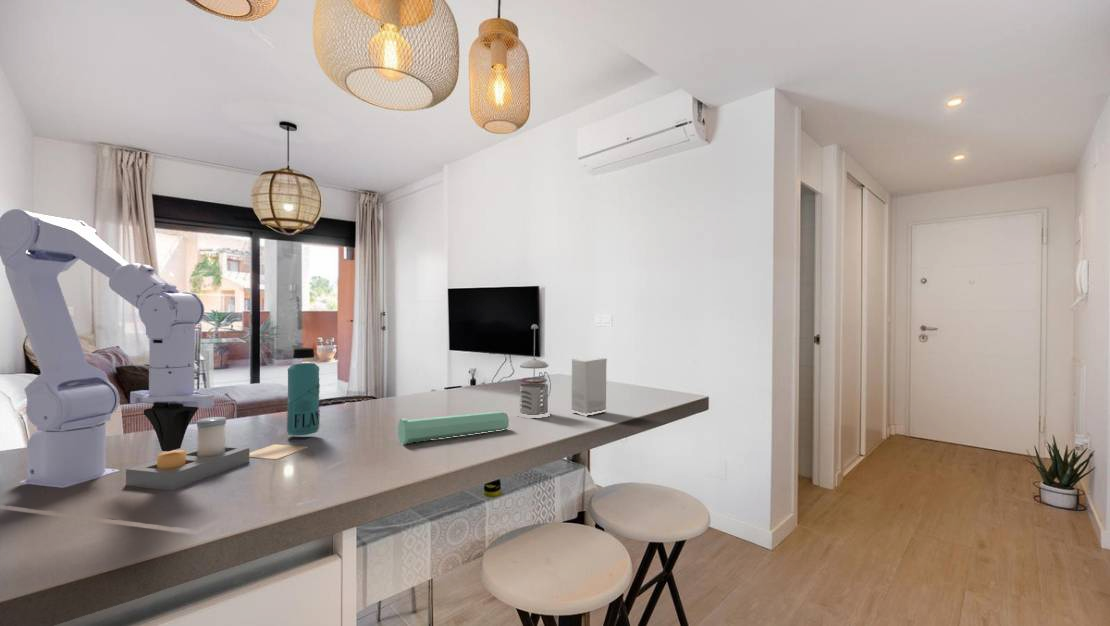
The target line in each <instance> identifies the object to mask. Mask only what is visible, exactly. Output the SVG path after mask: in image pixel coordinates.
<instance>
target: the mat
mask: <svg viewBox="0 0 1110 626" xmlns="http://www.w3.org/2000/svg"><path fill="white" fill-rule="evenodd" d="M305 449H308V446H299V445H291V444H289V445H285V444H276V443H274V444H271V445H269V446H265V447H262V448H260V449H257V450H254V451H251V452H250V451H249V459H259V460H260V459H261V460H272V461H277V460H280V459H284V458H285V457H288V456H290V455H293V454H295V453H298V452H300V451H304V450H305Z"/></svg>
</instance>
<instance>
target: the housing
mask: <svg viewBox="0 0 1110 626" xmlns="http://www.w3.org/2000/svg"><path fill="white" fill-rule="evenodd" d="M185 451H186V465H183V466H180V467H177V468H174V469H170V470H163V469H157V459H156V460H152V461H149V462H146V463H141V464H139V465H134V466H132V467H129V468H126V469H125V486H130V487H138V488H146V489H156V490H157V489H158V490H163V491H164V490H165V491H174V490H176V489H177V490H178V489H180V488H182V487H185V486H188V485H191V484H193V483H195V482H199V481H201V480H204V479H206V478H209V477H212V476H215V475H217V474H220V473H222V472H225V471H228V470H231V469H233V468H237V467H239V466H242V465H244V464H247V463H249V462H250V458H249V453H250V447H245V446H244V447H243V446H232V445H225V453H222V454H219V455H216V456H213V457H199V456H197V447H196V448H193V449H189V450H185Z"/></svg>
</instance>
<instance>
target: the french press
mask: <svg viewBox="0 0 1110 626" xmlns="http://www.w3.org/2000/svg"><path fill="white" fill-rule="evenodd" d="M530 329H531V330H533V358H532V359H528V360H525V361H523V362H522V363H520V364H519V367H520V368H522V369H533V377H524V378H521V379H520V382H522V383H521V384H520V385H519V393H520V394H519V398H520V399H519V403H520V404H519V411H520V413H522V414H527V415H539V414H545V413H547V412H548V410H549V408H548V407H549V406H548V405H549V396H550V393H551V389H552V385H551V384H552V383H551V382H552V381H551V377H550V375H549V374H548V372H547V371H544V373H543V372H542V371H540V372H538V376H539V377H535V372H536V371H535V370H536V369H546V368H549V363H547V362H546V361H543V360H541V359H537V358H535V357H536V356H535V354H536V352H535V351H536V329H539V326H538V325H537V324H535V323H534V324H532V325H531V328H530ZM546 375H547V377H548V380H549V385H548V384H547V381H548V380H547V378H545V376H546Z"/></svg>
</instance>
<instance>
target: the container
mask: <svg viewBox="0 0 1110 626" xmlns="http://www.w3.org/2000/svg"><path fill="white" fill-rule="evenodd" d="M509 422H510V419H509V416H508V413H505V412H503V411H500V410H499V411H498V410H497V411H487V412H477V413H476V412H475V413H465V414H456V415H455V414H454V415H446V416H444V415H443V416H435V417H423V418H414V419H407V418H405V417H402V418H401V417H400V419H399V422H398V429H397V430H398V431H397V435H398V440H399V441H400V442H401V443H402V444H403V445H402V444H401V443H400V442H399V443H400V444H401V445H402V446H406V445H405V444H407V443H408V444H414V443H413V442H416V443H421V442H420V441H424V442H427V441H426V440H431V439H439V438H446V437H453V436H460V435H468V434H475V433H481V432H488V431H496V430H502V429H506V428H507V429H508V428H509V427H510V426H509V424H510V423H509ZM507 429H506V430H507ZM408 444H407V445H408Z"/></svg>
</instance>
